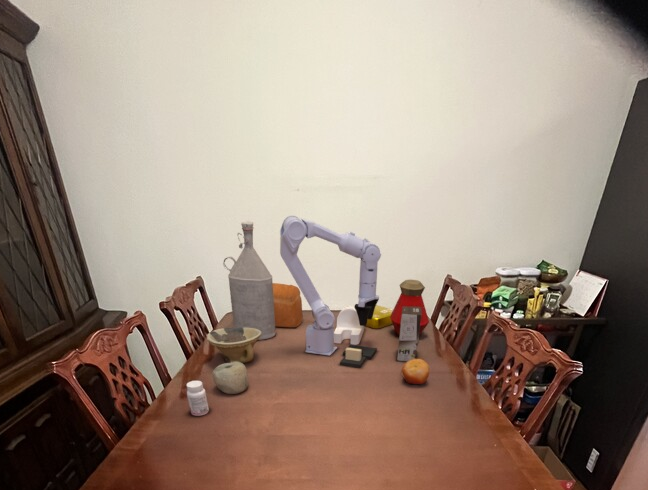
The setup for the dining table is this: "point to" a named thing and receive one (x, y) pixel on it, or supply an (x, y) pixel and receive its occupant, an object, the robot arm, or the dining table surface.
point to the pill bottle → (197, 398)
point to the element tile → (380, 318)
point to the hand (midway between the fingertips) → (365, 322)
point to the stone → (231, 377)
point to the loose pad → (353, 363)
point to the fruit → (415, 371)
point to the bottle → (409, 303)
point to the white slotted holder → (348, 326)
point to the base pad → (363, 351)
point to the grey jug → (251, 288)
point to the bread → (287, 305)
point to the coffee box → (409, 333)
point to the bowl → (235, 342)
